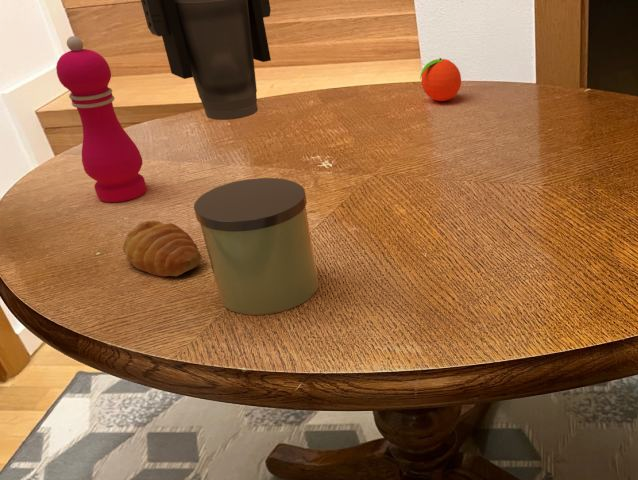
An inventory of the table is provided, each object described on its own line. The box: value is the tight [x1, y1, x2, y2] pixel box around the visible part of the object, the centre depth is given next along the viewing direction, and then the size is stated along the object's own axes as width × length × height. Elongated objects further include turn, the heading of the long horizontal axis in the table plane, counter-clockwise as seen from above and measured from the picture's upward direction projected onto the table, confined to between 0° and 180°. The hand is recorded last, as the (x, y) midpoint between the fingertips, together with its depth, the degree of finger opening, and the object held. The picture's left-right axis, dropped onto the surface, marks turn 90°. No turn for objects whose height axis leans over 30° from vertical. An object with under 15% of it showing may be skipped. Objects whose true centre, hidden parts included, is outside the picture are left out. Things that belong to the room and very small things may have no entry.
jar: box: [193, 177, 319, 316], centre depth 72 cm, size 10×10×10 cm
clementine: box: [419, 57, 462, 102], centre depth 126 cm, size 8×7×7 cm
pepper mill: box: [55, 35, 148, 203], centre depth 93 cm, size 7×7×20 cm
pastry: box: [122, 220, 202, 277], centre depth 80 cm, size 9×7×4 cm
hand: (222, 66), depth 63 cm, fingers closed on beverage cup, 6 cm apart
